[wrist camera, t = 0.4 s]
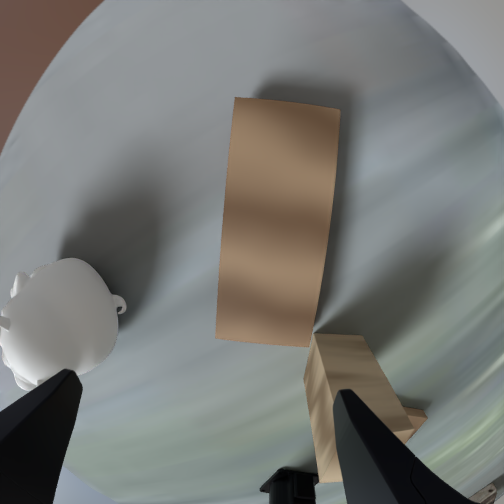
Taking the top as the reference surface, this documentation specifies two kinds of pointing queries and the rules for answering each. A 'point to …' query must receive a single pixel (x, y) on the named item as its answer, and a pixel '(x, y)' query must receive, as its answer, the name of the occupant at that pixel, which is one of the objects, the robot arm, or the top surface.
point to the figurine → (58, 322)
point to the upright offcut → (346, 377)
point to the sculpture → (485, 495)
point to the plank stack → (276, 220)
